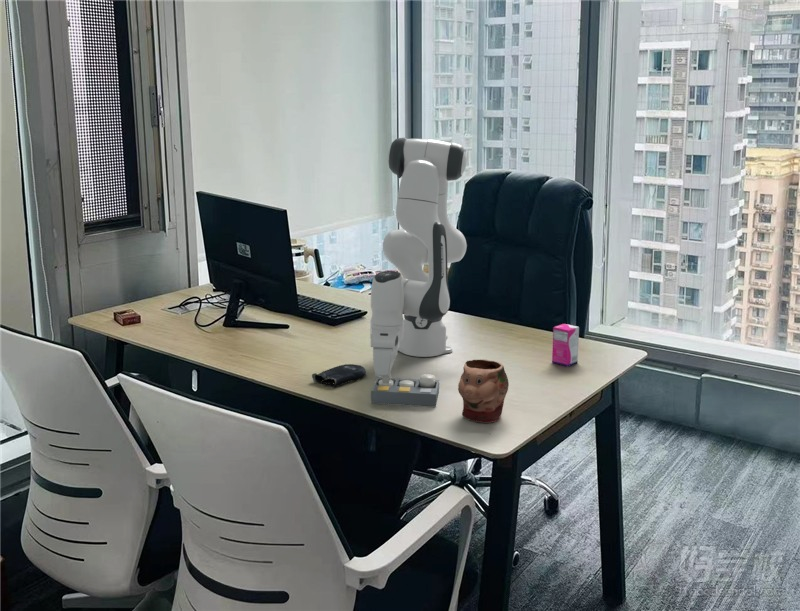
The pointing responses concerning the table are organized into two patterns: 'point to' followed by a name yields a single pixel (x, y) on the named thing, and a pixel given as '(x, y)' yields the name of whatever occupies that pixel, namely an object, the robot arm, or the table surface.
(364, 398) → the table surface
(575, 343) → the supplement box
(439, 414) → the table surface
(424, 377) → the button
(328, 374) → the electronic device
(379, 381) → the end button
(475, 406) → the character mug
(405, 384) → the middle button
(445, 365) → the table surface
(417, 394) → the button panel
